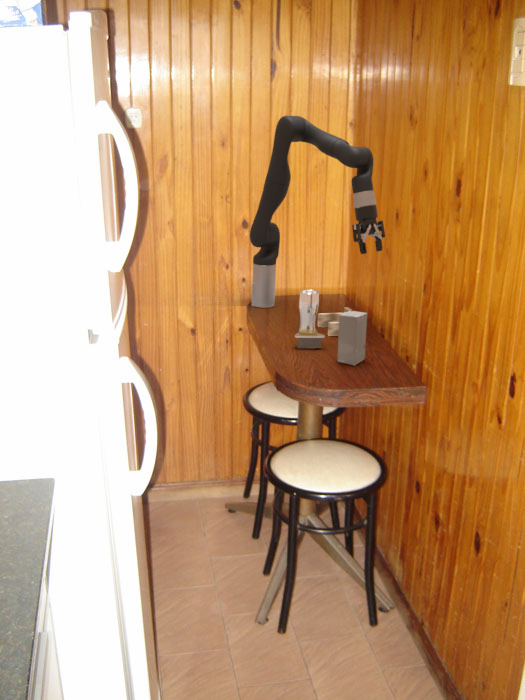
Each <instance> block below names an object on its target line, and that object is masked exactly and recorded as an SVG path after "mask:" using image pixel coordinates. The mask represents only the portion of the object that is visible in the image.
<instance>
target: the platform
mask: <svg viewBox="0 0 525 700" xmlns="http://www.w3.org/2000/svg"><path fill="white" fill-rule="evenodd" d="M301 330H304V331H305V332H306V333H305V332H304V331H303V333H302V331H301ZM307 330H310V332H311V333H308V331H307ZM312 330H315V331H314V332H315V333H313V331H312ZM294 337H295V338H297V348H296V349H308V348H307V347H321V348H322V339H325V337H326V335H325V334H323V333H319V332H318V329H316V328H315V329H300V333H299V332H297V333H295V334H294Z"/></svg>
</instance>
